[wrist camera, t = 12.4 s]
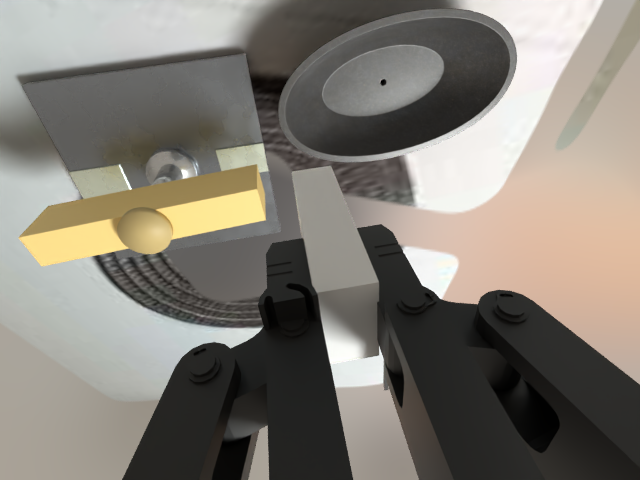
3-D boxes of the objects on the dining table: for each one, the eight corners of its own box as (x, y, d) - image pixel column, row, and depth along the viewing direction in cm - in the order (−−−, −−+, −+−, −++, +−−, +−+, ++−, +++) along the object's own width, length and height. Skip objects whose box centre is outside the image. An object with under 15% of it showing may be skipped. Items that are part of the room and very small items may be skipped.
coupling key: (255, 158, 32) (255, 187, 28) (266, 197, 35) (267, 230, 30) (44, 201, 32) (8, 238, 27) (70, 237, 34) (40, 277, 29)
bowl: (477, 110, 41) (509, 128, 36) (290, 158, 41) (295, 182, 36) (485, -18, 34) (526, -19, 29) (258, 39, 34) (259, 49, 29)
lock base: (28, 82, 33) (-21, 102, 27) (245, 53, 34) (243, 66, 28) (121, 253, 45) (100, 292, 39) (280, 226, 46) (283, 261, 40)
